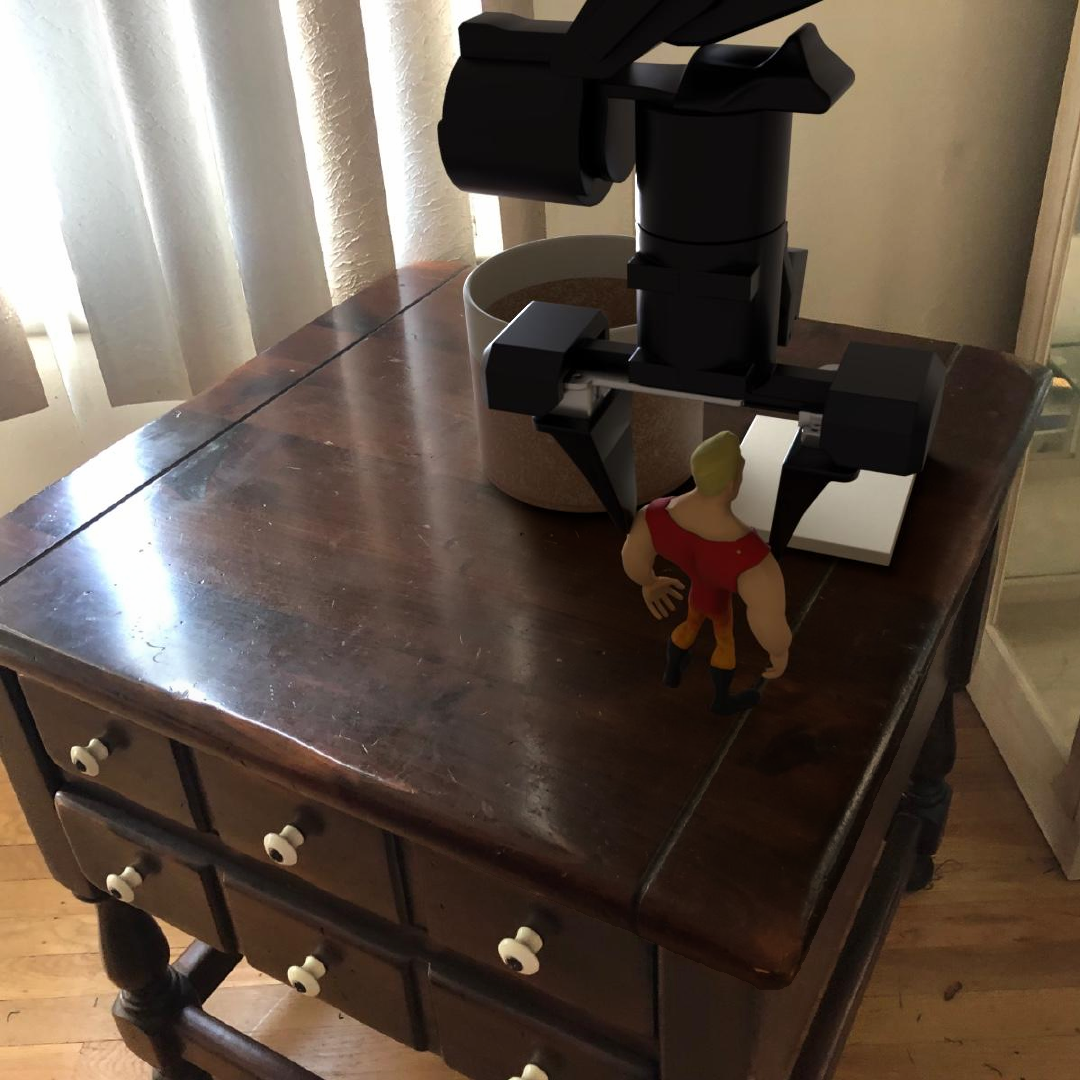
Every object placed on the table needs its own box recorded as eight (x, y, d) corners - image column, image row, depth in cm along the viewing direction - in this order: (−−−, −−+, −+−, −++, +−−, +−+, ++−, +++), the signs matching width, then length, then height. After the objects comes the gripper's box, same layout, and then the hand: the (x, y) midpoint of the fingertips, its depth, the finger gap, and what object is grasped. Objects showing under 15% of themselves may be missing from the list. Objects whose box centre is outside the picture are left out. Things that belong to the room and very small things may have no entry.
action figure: (806, 715, 56) (840, 455, 47) (763, 756, 54) (790, 493, 45) (656, 631, 62) (661, 384, 53) (612, 665, 60) (609, 414, 51)
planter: (709, 408, 88) (715, 234, 80) (692, 528, 75) (697, 337, 67) (507, 399, 91) (492, 231, 83) (458, 514, 78) (435, 329, 70)
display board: (923, 452, 81) (925, 440, 81) (888, 566, 71) (890, 553, 70) (755, 426, 85) (756, 414, 85) (700, 530, 75) (701, 518, 75)
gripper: (988, 166, 47) (934, 486, 56) (564, 137, 53) (578, 427, 63) (953, 274, 39) (896, 627, 48) (458, 223, 45) (491, 542, 54)
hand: (701, 543), depth 53 cm, fingers closed on action figure, 7 cm apart
